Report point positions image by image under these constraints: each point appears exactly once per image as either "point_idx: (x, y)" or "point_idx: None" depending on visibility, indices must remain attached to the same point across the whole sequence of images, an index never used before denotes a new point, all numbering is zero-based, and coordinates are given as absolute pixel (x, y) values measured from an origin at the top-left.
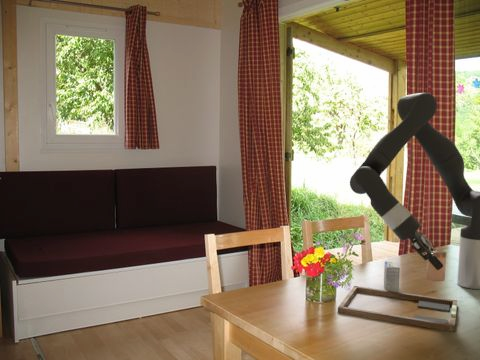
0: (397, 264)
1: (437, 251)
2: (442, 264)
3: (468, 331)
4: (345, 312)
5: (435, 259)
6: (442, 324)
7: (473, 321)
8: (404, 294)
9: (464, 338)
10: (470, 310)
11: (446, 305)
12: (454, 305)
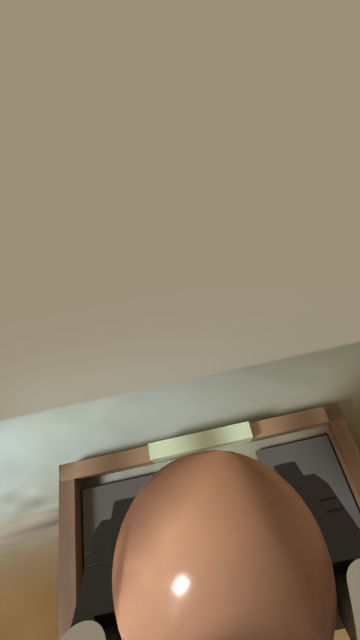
0: None
1: (175, 575)
2: (294, 466)
3: (290, 375)
4: None
5: (351, 535)
6: (355, 443)
7: (195, 383)
8: None
9: (355, 371)
10: (96, 414)
11: (102, 498)
12: (152, 450)
